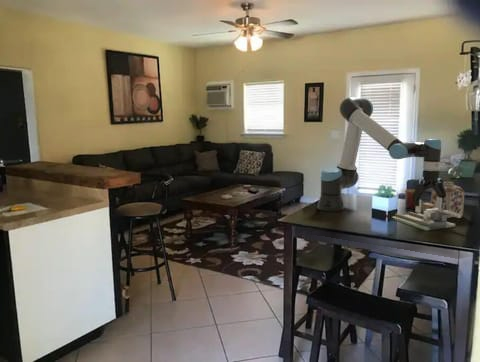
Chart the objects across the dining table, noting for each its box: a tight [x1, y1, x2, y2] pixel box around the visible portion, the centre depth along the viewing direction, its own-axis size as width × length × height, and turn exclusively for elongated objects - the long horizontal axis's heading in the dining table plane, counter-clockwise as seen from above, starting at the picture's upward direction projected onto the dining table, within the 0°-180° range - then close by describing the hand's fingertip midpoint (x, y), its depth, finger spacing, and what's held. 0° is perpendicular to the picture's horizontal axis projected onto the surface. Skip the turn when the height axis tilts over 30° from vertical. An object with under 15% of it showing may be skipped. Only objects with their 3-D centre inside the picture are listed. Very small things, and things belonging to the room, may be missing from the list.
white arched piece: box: [421, 202, 463, 222], centre depth 189 cm, size 21×10×7 cm, turn 20°
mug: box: [404, 188, 416, 210], centre depth 224 cm, size 12×9×10 cm
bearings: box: [430, 212, 448, 222], centre depth 192 cm, size 7×3×6 cm, turn 20°
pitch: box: [391, 211, 456, 231], centre depth 195 cm, size 23×18×3 cm
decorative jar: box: [430, 181, 465, 219], centre depth 208 cm, size 12×12×18 cm
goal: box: [420, 218, 447, 231], centre depth 186 cm, size 6×10×3 cm, turn 110°
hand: (428, 211), depth 197 cm, fingers open, 13 cm apart
